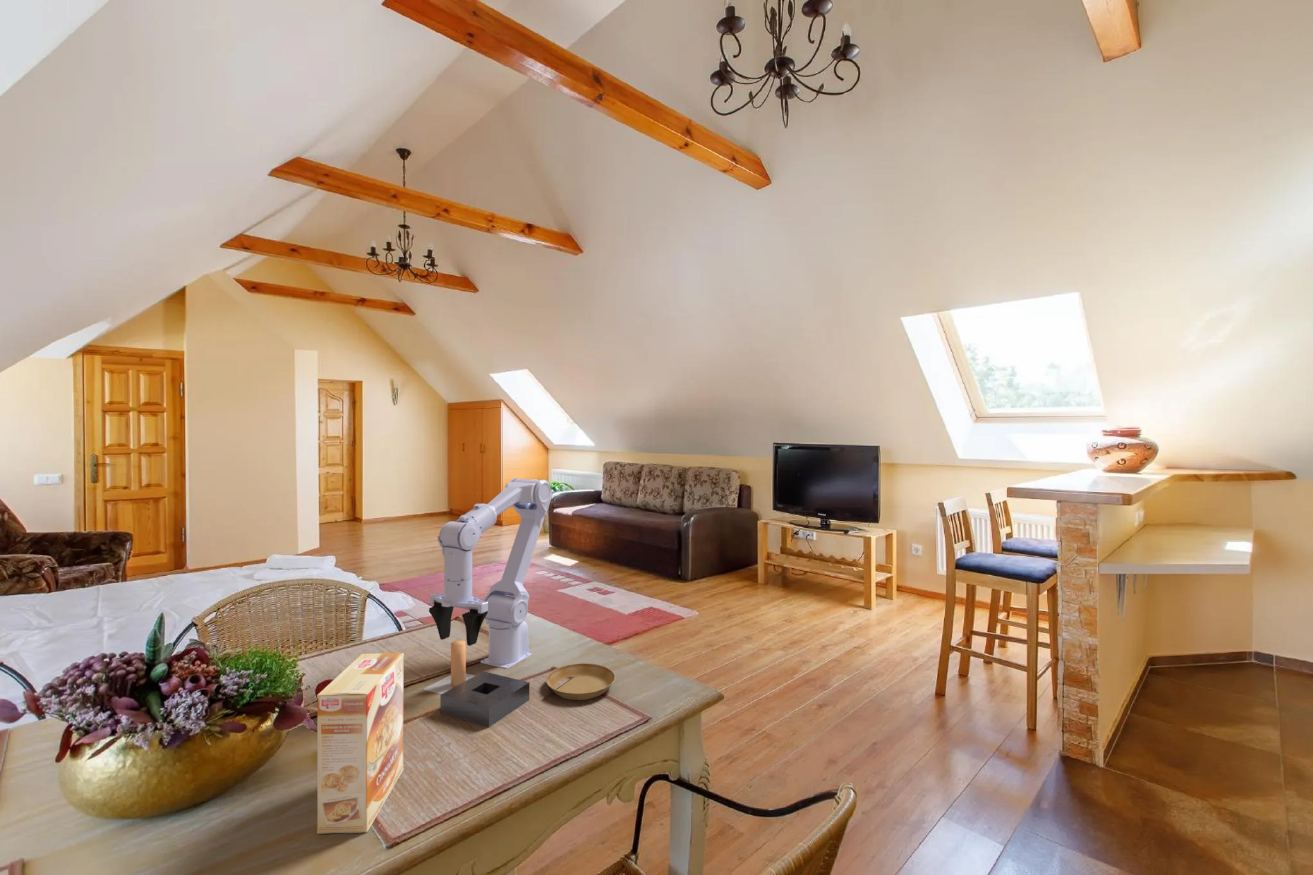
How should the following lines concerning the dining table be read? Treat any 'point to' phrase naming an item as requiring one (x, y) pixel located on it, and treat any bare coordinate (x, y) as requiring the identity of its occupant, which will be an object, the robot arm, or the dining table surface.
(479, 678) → the socket block
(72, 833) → the dining table surface
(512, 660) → the robot arm
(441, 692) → the mat
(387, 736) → the coffeecake box
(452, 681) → the peg
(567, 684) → the plant saucer
